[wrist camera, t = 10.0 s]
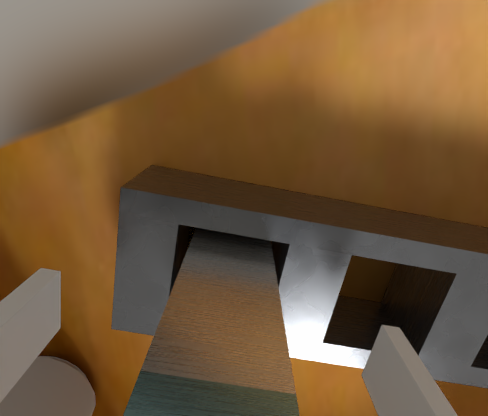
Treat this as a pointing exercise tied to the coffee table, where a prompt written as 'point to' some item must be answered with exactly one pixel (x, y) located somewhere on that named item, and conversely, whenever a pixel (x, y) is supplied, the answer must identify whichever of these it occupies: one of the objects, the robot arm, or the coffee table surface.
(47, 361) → the can
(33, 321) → the robot arm
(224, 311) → the square peg
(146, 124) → the coffee table surface
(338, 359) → the rack rail
